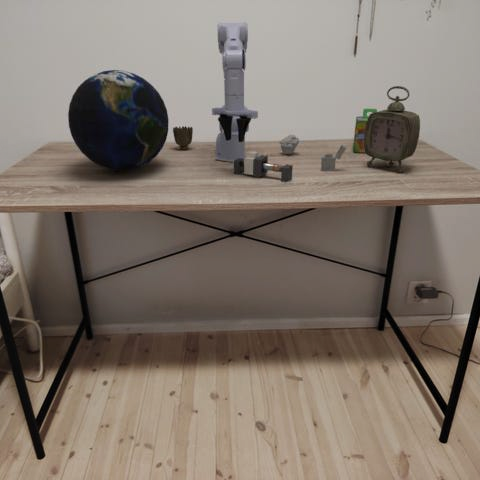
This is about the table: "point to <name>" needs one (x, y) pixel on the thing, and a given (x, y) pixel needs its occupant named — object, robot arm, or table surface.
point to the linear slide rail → (285, 170)
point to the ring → (260, 165)
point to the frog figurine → (289, 144)
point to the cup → (183, 136)
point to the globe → (118, 120)
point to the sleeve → (250, 162)
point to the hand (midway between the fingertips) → (234, 140)
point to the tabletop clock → (392, 132)
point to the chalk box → (361, 131)
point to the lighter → (331, 160)
